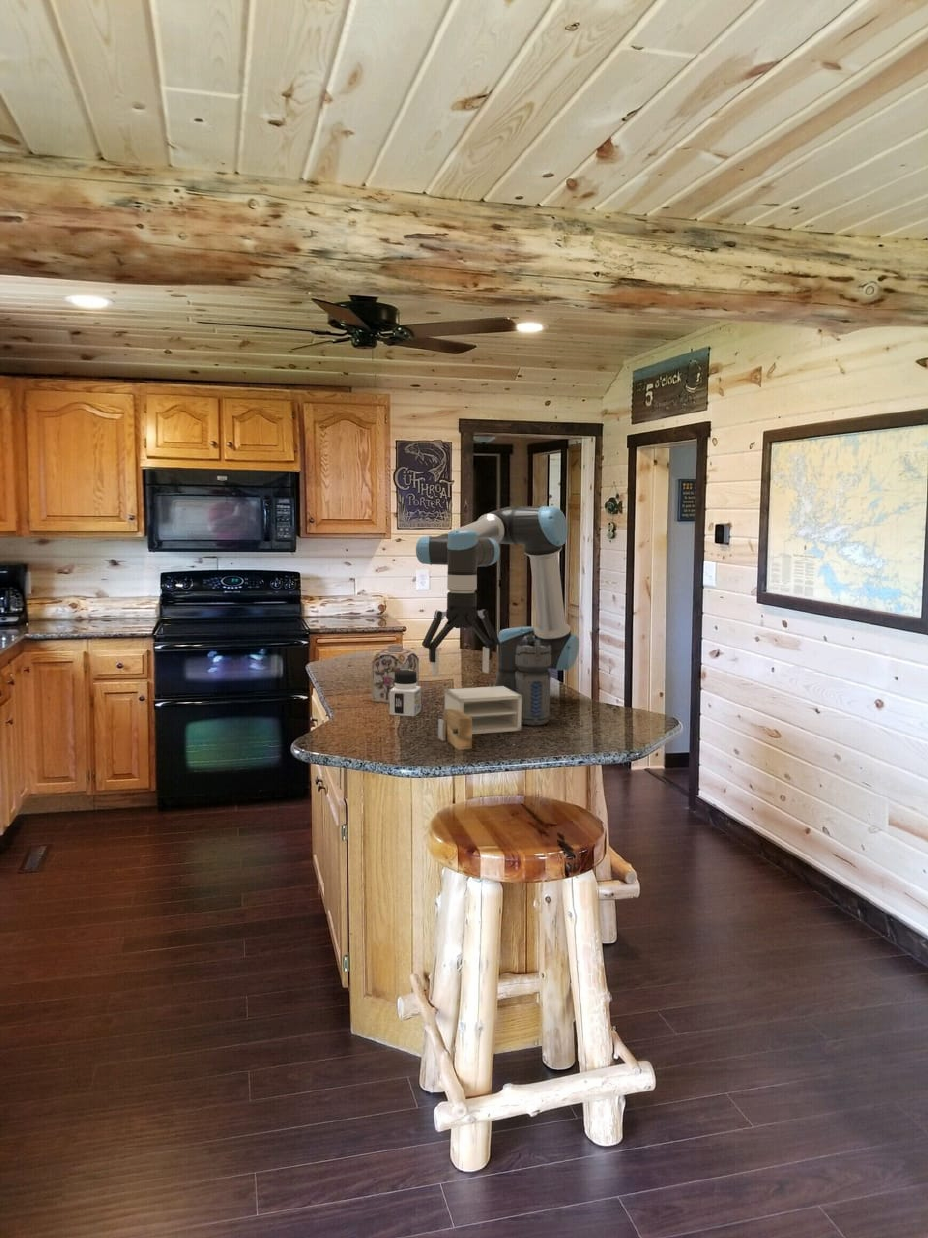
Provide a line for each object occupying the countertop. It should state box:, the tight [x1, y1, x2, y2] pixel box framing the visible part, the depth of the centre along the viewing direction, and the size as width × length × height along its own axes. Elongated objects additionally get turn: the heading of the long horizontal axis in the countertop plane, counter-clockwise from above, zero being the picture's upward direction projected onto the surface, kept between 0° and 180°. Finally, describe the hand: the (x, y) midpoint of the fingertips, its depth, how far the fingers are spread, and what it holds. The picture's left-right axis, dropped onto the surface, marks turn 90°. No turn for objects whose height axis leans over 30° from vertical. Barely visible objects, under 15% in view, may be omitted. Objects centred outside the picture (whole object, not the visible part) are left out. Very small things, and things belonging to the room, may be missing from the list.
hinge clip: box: [437, 718, 446, 742], centre depth 229 cm, size 6×4×5 cm, turn 109°
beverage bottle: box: [515, 636, 552, 727], centre depth 248 cm, size 10×13×25 cm
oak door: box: [443, 709, 473, 751], centre depth 224 cm, size 4×12×8 cm, turn 19°
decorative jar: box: [371, 643, 420, 705], centre depth 276 cm, size 12×12×18 cm
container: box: [389, 670, 422, 717], centre depth 258 cm, size 8×8×13 cm
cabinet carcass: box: [443, 686, 522, 735], centre depth 242 cm, size 18×14×10 cm
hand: (460, 673), depth 221 cm, fingers open, 13 cm apart
